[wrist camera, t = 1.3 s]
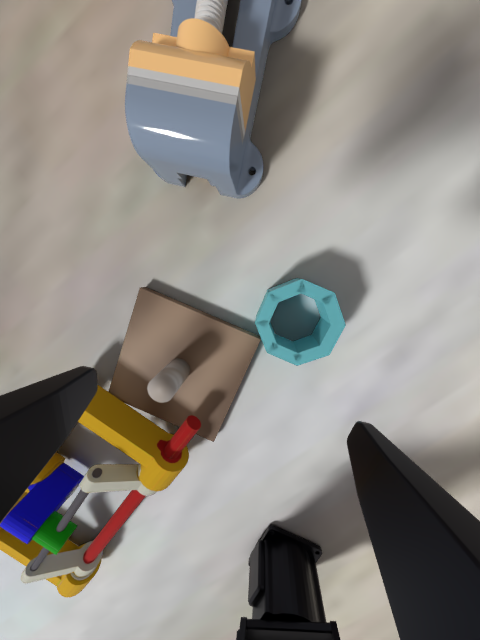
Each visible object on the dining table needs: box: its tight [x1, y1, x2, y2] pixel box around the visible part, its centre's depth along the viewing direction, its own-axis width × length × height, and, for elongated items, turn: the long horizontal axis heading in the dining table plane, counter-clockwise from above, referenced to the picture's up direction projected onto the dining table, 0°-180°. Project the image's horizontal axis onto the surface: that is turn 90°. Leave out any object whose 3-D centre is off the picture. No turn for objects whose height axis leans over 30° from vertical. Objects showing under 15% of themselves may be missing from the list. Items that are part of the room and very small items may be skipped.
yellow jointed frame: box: [0, 385, 201, 597], centre depth 23 cm, size 18×6×30 cm
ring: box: [255, 278, 346, 366], centre depth 19 cm, size 6×6×3 cm
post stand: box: [109, 287, 261, 442], centre depth 20 cm, size 12×12×5 cm
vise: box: [125, 0, 301, 198], centre depth 14 cm, size 18×10×7 cm, turn 167°
